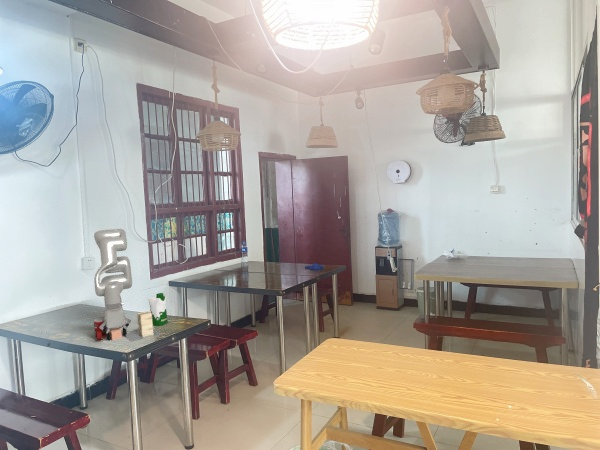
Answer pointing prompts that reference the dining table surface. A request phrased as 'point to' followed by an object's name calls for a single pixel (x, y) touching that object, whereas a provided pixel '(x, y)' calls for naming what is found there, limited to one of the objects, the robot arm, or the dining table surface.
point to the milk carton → (158, 309)
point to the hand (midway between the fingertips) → (116, 337)
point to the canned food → (98, 331)
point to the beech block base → (145, 330)
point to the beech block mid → (144, 318)
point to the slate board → (135, 335)
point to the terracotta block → (115, 334)
